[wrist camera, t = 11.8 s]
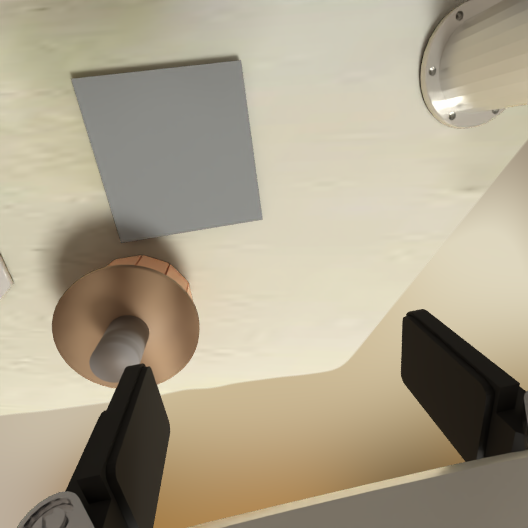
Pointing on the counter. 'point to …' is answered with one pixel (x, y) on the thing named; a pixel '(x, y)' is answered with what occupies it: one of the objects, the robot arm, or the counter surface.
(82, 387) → the counter surface
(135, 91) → the mat
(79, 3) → the counter surface
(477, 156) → the counter surface
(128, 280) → the lid
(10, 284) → the wineglass
